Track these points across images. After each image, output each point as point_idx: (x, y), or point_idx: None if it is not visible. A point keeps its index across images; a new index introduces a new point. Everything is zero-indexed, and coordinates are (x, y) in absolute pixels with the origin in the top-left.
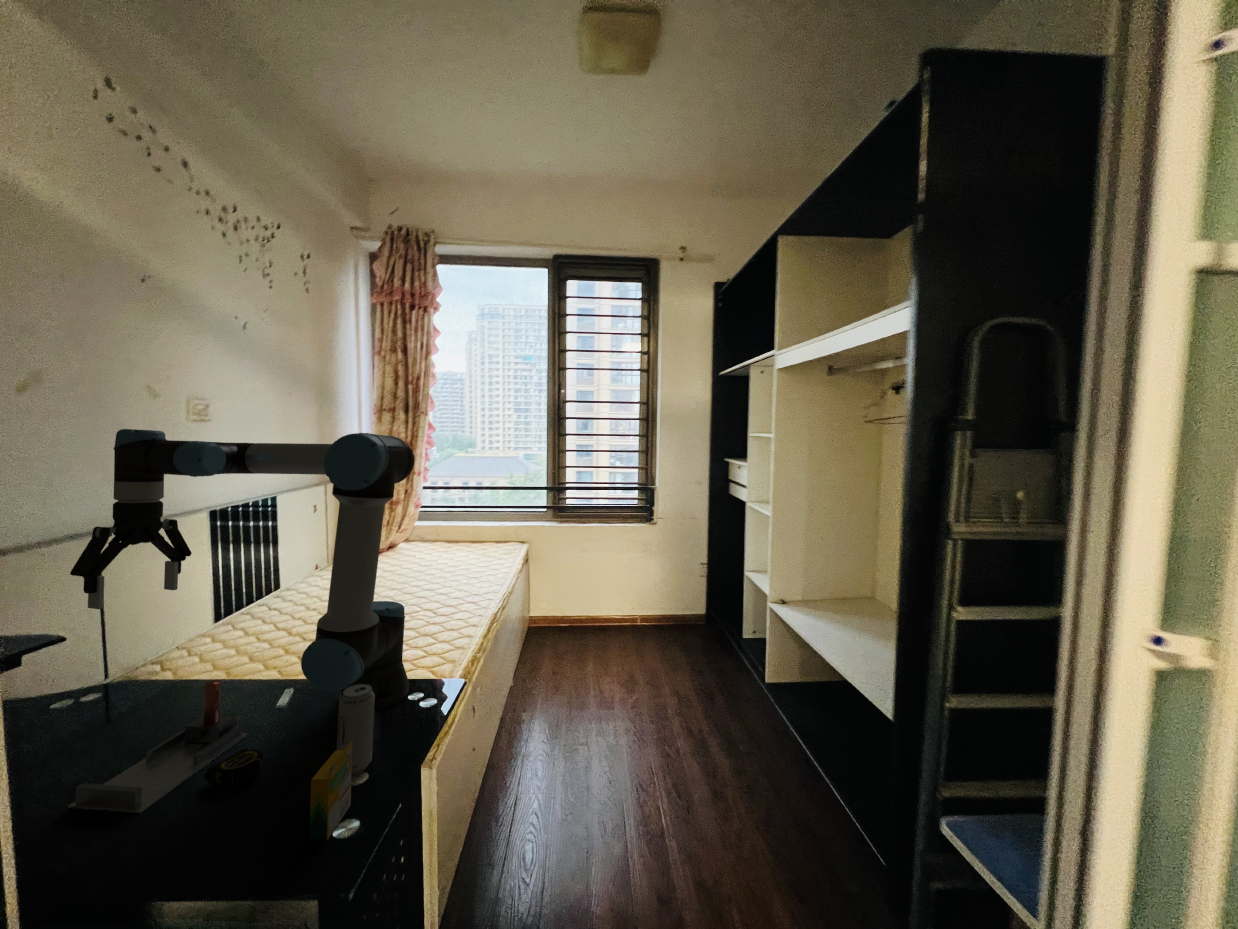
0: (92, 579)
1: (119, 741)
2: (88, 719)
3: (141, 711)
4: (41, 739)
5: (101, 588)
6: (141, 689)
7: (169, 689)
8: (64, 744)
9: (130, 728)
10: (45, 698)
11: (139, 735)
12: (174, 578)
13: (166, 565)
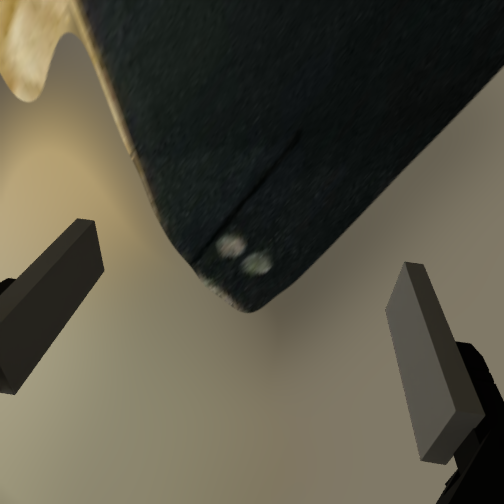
0: (495, 421)
1: (368, 33)
2: (296, 179)
3: (257, 111)
4: (360, 188)
5: (443, 343)
6: (189, 194)
7: (174, 143)
8: (377, 134)
9: (319, 64)
10: (248, 297)
11: (345, 11)
12: (58, 258)
13: (28, 363)
